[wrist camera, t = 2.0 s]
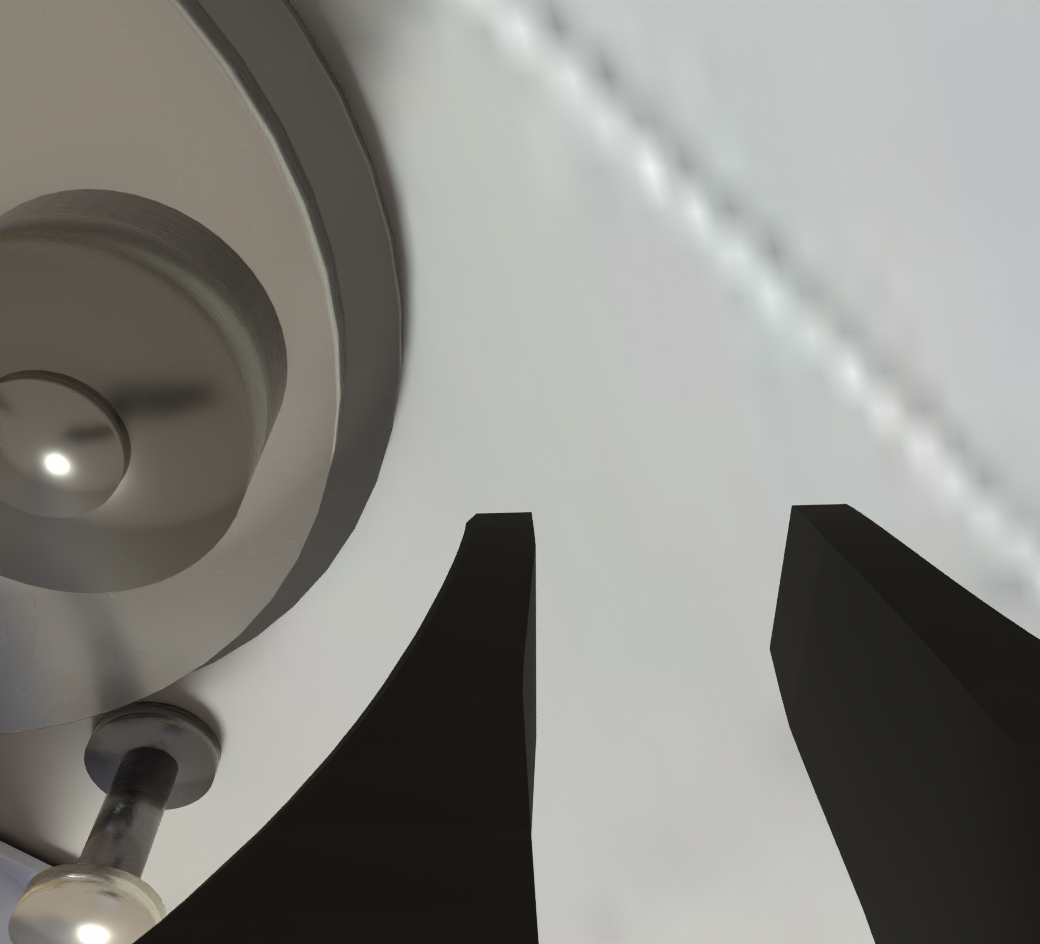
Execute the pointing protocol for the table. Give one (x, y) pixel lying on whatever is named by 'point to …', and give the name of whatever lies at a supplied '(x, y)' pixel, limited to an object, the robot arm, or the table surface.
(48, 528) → the cover
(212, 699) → the table surface
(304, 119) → the turntable base
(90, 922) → the small grey dumbbell
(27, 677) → the turntable
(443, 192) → the table surface
